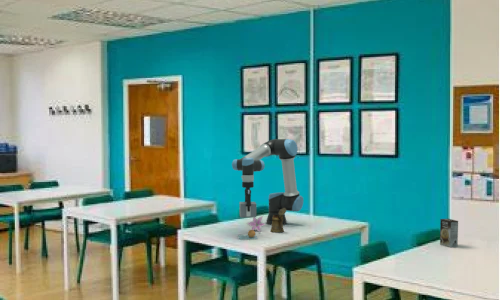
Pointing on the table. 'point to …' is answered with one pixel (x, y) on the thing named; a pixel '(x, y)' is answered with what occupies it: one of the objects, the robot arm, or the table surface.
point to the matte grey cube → (243, 209)
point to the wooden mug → (278, 221)
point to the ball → (251, 233)
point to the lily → (256, 223)
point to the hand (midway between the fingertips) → (247, 215)
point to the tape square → (247, 237)
